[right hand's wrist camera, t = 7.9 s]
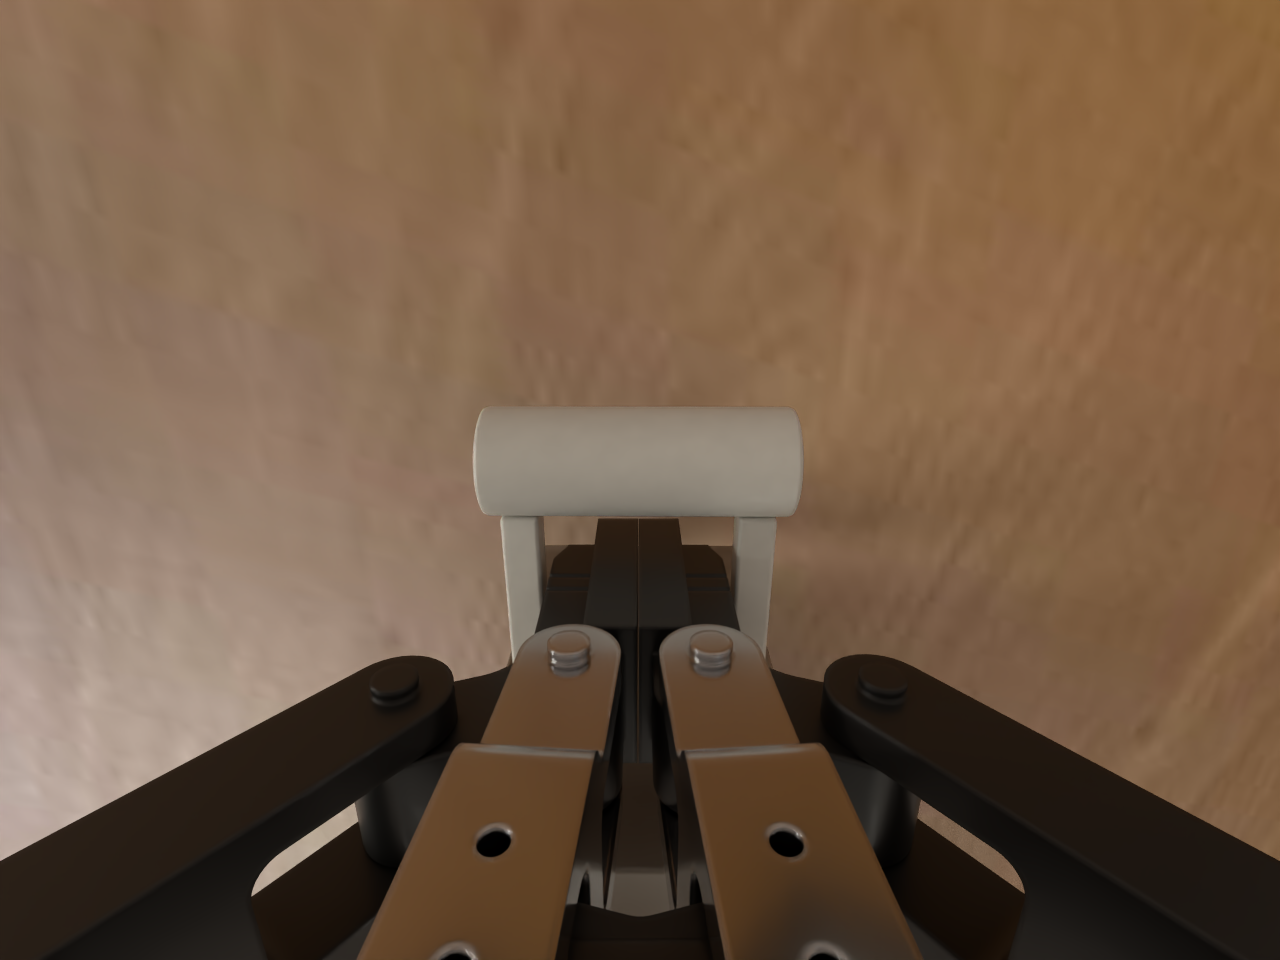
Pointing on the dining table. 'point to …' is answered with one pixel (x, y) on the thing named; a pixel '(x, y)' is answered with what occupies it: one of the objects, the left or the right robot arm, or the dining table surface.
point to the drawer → (638, 486)
